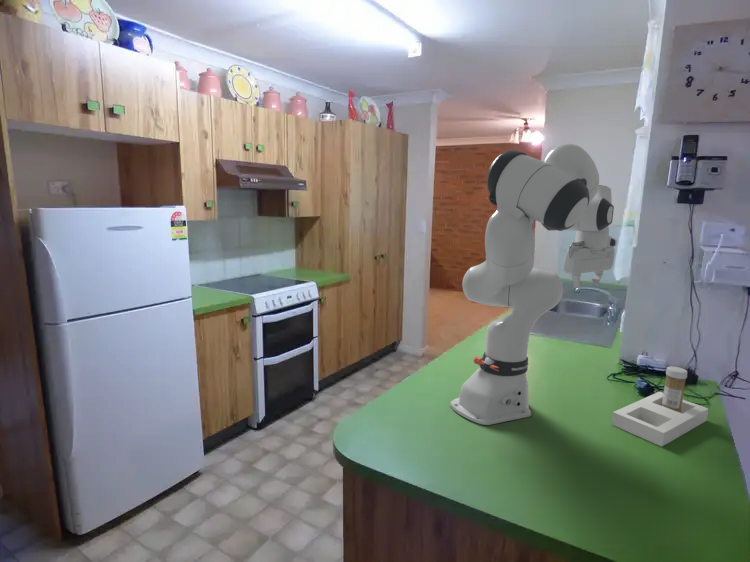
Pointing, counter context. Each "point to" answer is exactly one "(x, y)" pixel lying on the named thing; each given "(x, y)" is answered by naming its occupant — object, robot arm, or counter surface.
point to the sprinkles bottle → (674, 388)
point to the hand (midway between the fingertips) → (586, 286)
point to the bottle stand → (658, 419)
